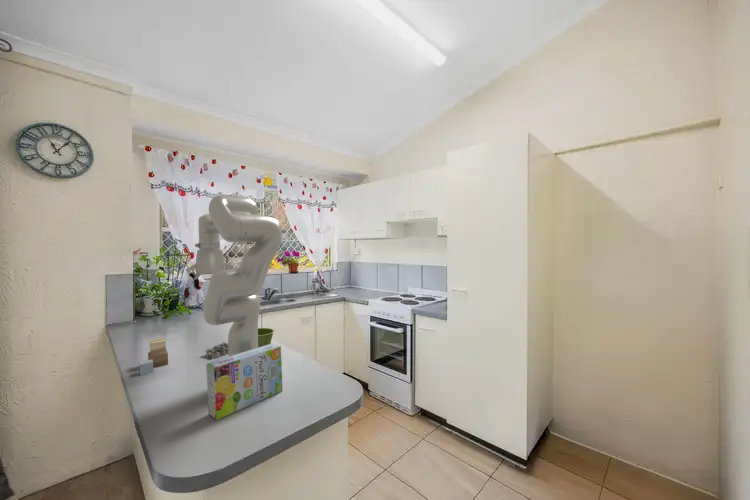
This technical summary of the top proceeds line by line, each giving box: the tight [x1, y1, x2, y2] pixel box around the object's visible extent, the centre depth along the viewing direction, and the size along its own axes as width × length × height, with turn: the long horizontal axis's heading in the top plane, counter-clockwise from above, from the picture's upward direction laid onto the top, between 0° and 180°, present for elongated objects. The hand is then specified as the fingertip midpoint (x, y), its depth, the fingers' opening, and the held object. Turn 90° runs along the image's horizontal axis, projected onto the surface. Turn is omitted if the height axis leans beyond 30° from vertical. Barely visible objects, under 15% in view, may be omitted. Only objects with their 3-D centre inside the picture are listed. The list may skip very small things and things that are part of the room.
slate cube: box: [139, 359, 154, 376], centre depth 118 cm, size 4×4×4 cm
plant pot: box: [258, 327, 275, 348], centre depth 130 cm, size 12×12×11 cm
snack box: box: [205, 343, 283, 421], centre depth 94 cm, size 21×6×15 cm, turn 141°
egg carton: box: [203, 341, 228, 360], centre depth 136 cm, size 11×8×4 cm
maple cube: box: [149, 337, 167, 356], centre depth 125 cm, size 5×5×5 cm
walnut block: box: [147, 349, 169, 369], centre depth 125 cm, size 6×6×5 cm
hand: (210, 287), depth 127 cm, fingers open, 9 cm apart
